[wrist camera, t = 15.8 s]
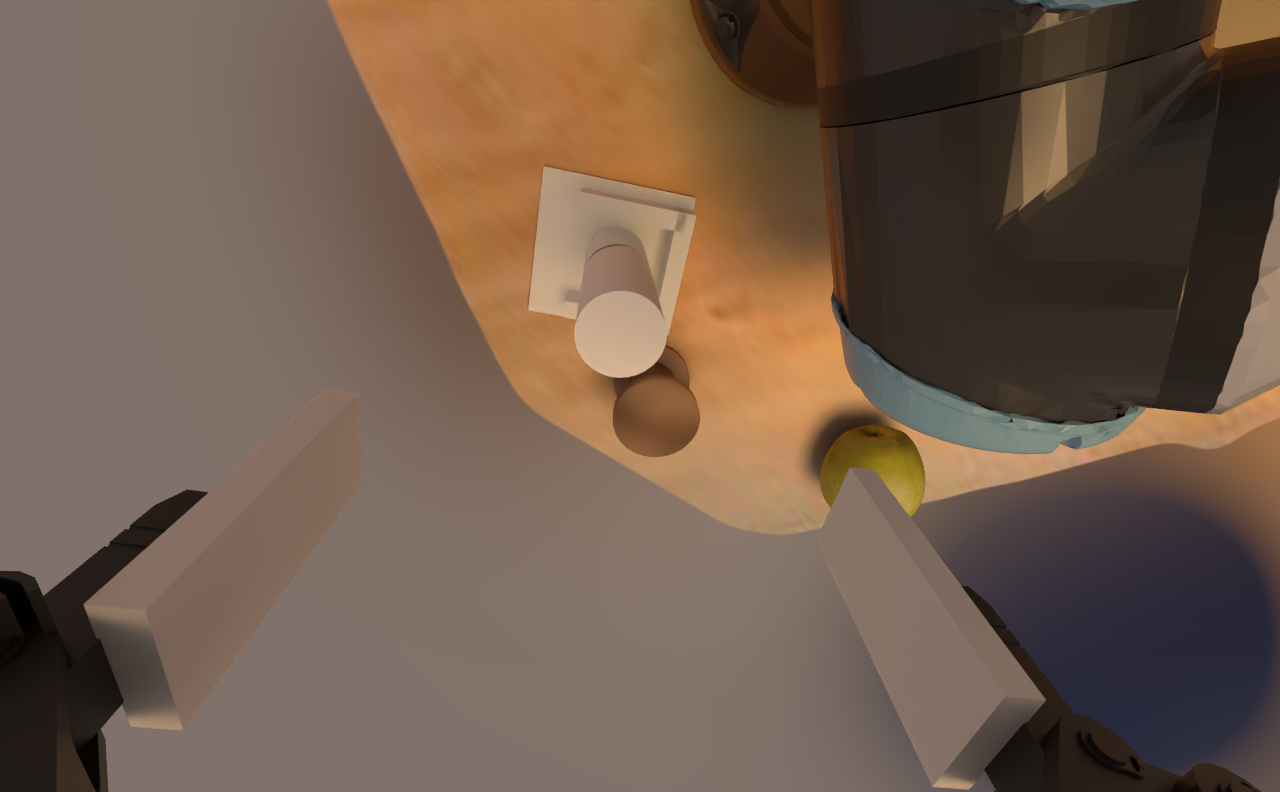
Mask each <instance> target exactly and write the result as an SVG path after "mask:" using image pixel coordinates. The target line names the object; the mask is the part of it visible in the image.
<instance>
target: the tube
mask: <svg viewBox="0 0 1280 792" xmlns="http://www.w3.org/2000/svg"><path fill="white" fill-rule="evenodd" d="M574 337H575V344H576V347H577V350H578V352H579V354H580V356H581V358H582V359H583V360H584V361H585V362H586V364H587V365H588V366H590V367H591V368H592V369H594V370H595V371H597V372H599V373H601V374H603V375H606V376H610V377H617V378H621V377H630V376H635V375H638V374H640V373H642V372H644V371H646V370H647V369H649V368H650V367H652V366H653V365H654V364H655V363H656V361H657V360H658V359H659V358H660V356H661V355H662V353H663V350H664V348H665V345H666V340H667V328H666V324H665V319H664V316H663V312H662V309H661V305H660V302H659V298H658V295H657V291H656V287H655V284H654V280H653V277H652V273H651V270H650V266H649V263H648V259H647V255H646V252H645V248H644V246H643V244H642V242H641V240H640V239H639V238H638V237H637V236H636V235H635V234H634V233H632V232H631V231H629V230H627V229H624V228H619V227H614V228H608V229H605V230H603V231H601V232H599V233H598V234H597V235H595V236H594V237H593V239H592V240H591V241H590V243H589V245H588V248H587V252H586V258H585V264H584V271H583V278H582V284H581V291H580V297H579V304H578V310H577V317H576V323H575V331H574Z"/></svg>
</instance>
